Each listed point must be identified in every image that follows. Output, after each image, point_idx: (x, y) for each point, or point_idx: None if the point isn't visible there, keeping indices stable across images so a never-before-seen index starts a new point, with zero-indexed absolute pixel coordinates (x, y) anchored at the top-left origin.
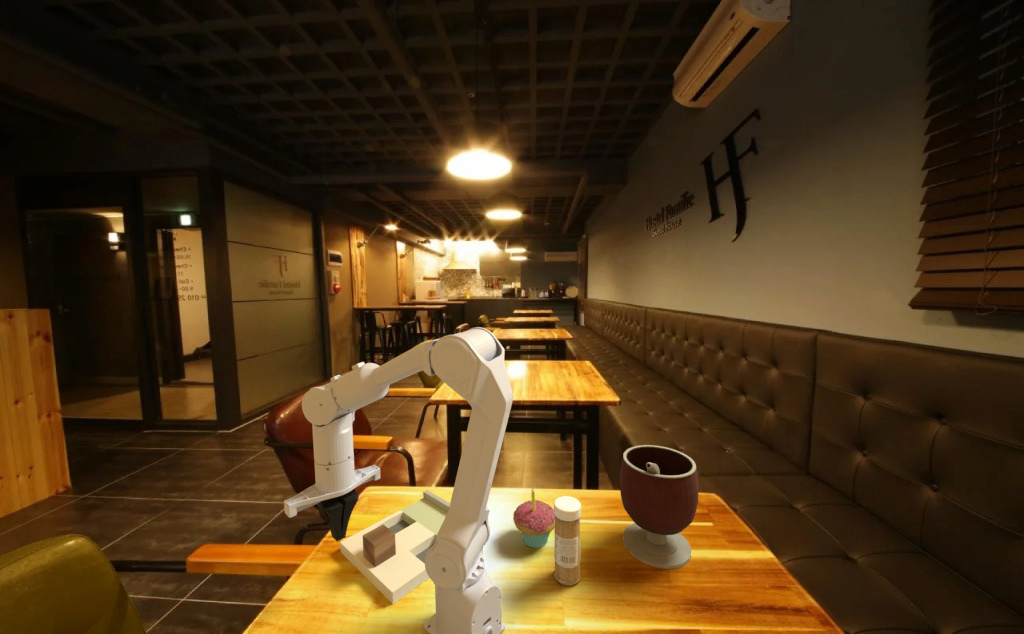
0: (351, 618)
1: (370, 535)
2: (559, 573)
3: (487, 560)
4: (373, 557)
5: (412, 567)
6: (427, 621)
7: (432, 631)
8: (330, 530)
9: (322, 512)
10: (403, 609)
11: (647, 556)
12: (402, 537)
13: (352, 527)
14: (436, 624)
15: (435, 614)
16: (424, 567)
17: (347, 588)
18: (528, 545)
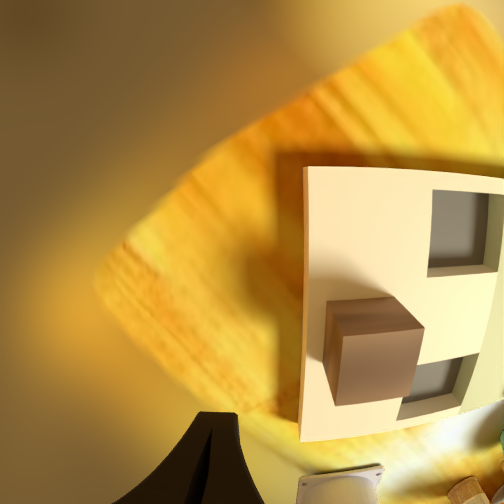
0: (221, 399)
1: (360, 356)
2: (453, 499)
3: (460, 429)
4: (327, 370)
5: (374, 415)
6: (308, 478)
7: (301, 489)
8: (189, 427)
9: (130, 492)
10: None
11: (501, 493)
12: (440, 307)
13: (381, 81)
14: (307, 497)
15: (325, 477)
16: (387, 427)
17: (251, 325)
18: (501, 434)
